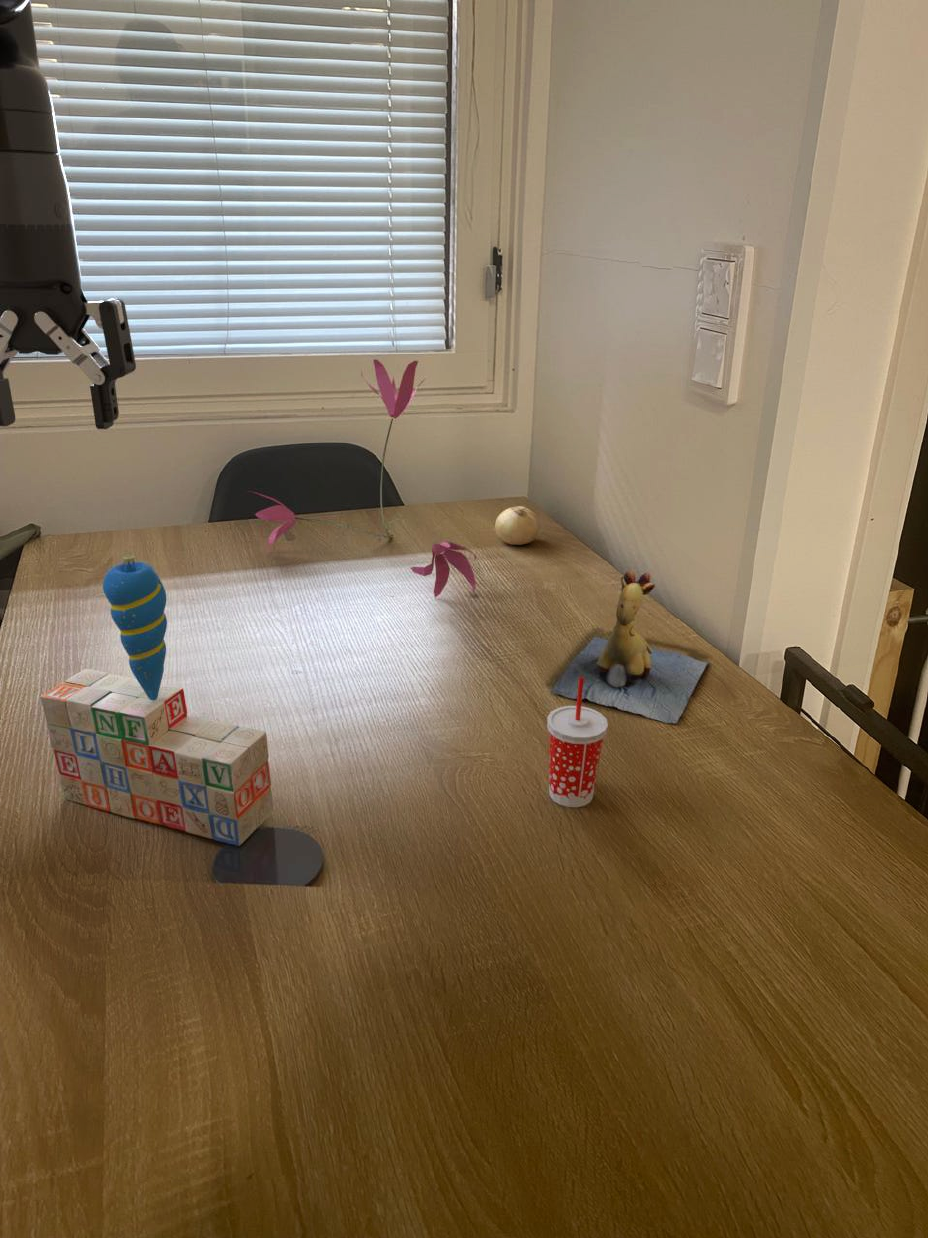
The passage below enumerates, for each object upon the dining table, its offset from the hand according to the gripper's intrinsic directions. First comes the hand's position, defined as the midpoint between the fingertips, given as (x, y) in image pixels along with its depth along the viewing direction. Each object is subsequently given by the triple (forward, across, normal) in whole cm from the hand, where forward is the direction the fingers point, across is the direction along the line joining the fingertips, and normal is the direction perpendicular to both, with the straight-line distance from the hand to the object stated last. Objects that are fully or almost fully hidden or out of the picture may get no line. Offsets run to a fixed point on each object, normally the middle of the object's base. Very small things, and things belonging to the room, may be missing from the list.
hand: (55, 425), depth 77 cm
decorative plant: (+38, -18, -62) cm, 75 cm away
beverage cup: (+38, -47, -3) cm, 61 cm away
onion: (+38, -43, -79) cm, 98 cm away
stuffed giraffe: (+38, -57, -29) cm, 75 cm away
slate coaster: (+38, -18, +10) cm, 43 cm away
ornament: (+26, -6, +2) cm, 26 cm away
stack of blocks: (+38, -6, +2) cm, 39 cm away
